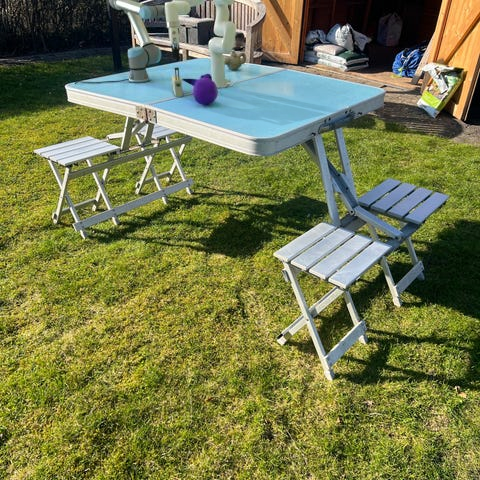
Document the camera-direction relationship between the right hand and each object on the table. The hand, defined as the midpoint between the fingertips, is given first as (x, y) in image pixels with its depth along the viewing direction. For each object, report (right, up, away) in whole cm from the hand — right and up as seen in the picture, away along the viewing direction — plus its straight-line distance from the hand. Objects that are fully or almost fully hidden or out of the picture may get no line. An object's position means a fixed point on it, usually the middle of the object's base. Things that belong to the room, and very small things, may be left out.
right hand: (175, 55), depth 281 cm
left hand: (-6, +14, +43) cm, 46 cm away
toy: (+17, -32, -5) cm, 36 cm away
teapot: (+36, +25, +91) cm, 101 cm away
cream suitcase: (-1, -18, +19) cm, 26 cm away
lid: (-1, -10, +14) cm, 17 cm away
